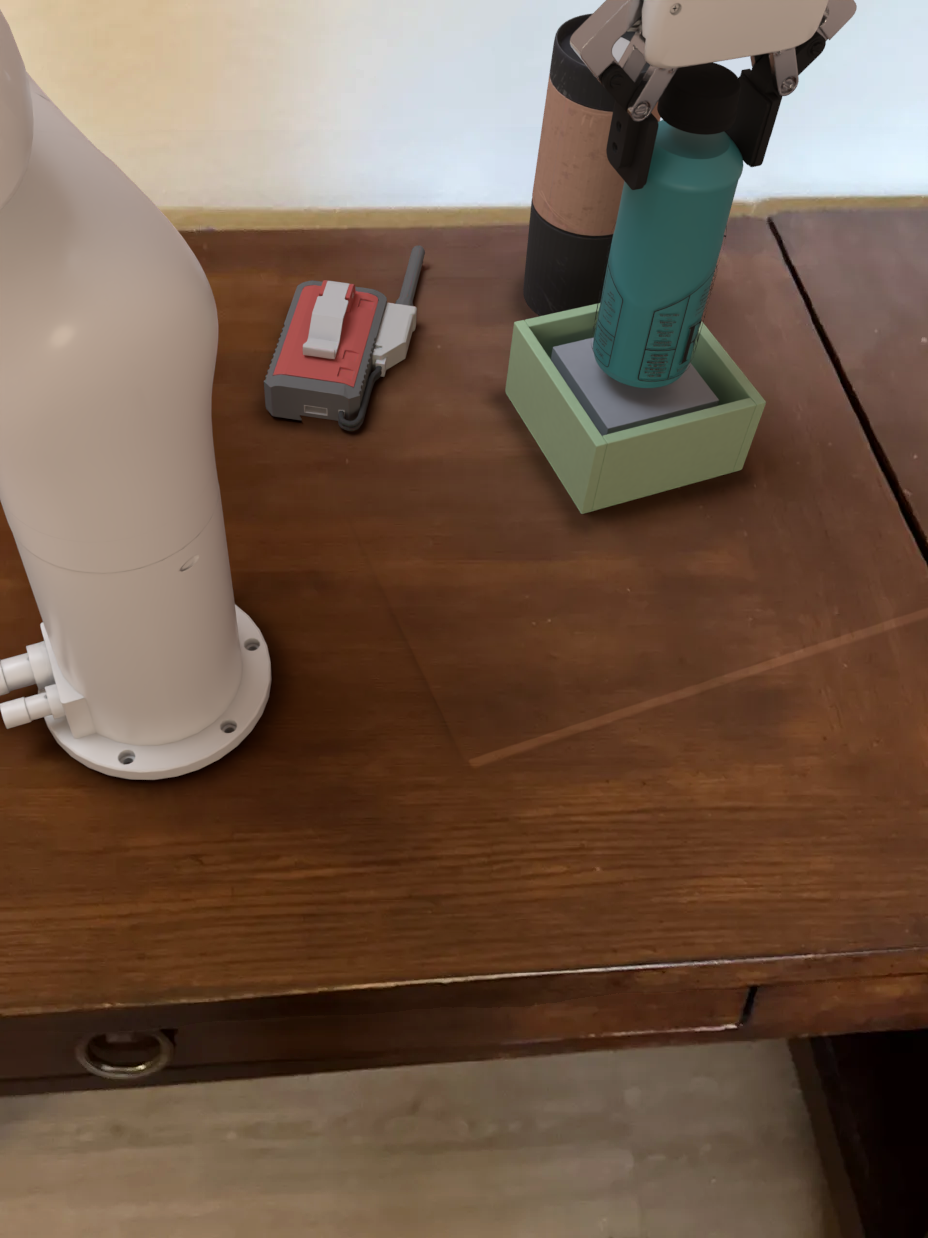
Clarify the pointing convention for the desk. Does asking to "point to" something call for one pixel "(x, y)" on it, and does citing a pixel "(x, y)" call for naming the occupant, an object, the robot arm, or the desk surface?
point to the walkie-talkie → (339, 348)
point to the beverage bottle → (671, 233)
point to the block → (626, 392)
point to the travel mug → (573, 184)
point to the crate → (637, 454)
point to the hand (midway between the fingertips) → (685, 161)
